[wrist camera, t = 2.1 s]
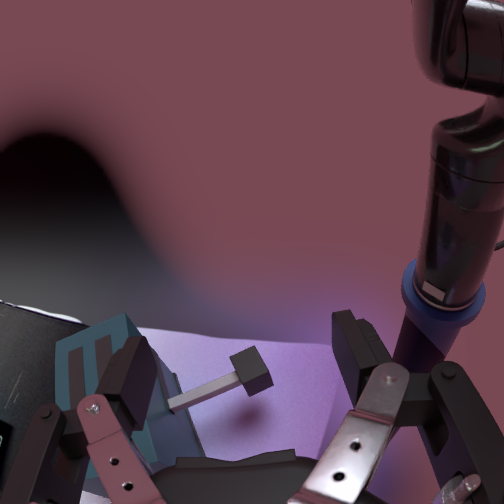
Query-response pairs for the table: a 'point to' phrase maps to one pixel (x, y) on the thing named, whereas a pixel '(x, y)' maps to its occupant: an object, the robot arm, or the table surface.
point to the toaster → (159, 413)
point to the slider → (229, 380)
